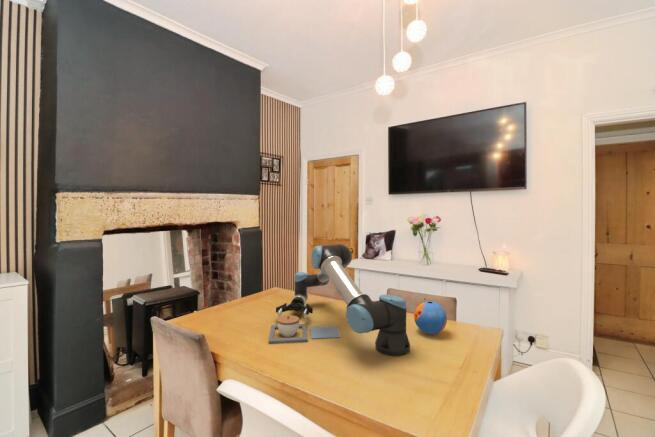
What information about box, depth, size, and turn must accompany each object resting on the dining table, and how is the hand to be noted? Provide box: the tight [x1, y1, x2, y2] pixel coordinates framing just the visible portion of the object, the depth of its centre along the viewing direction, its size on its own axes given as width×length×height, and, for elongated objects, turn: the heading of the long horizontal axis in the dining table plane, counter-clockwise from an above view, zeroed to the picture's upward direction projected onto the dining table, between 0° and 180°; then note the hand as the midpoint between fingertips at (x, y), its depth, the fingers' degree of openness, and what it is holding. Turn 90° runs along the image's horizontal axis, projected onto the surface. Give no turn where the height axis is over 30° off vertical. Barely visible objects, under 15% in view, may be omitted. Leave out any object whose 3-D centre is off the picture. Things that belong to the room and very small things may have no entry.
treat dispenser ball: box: [413, 301, 448, 335], centre depth 158 cm, size 16×15×15 cm
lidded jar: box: [276, 314, 300, 338], centre depth 156 cm, size 11×11×9 cm
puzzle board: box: [267, 323, 309, 345], centre depth 157 cm, size 20×18×1 cm
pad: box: [309, 325, 342, 340], centre depth 158 cm, size 14×14×1 cm
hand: (291, 315), depth 165 cm, fingers open, 13 cm apart
